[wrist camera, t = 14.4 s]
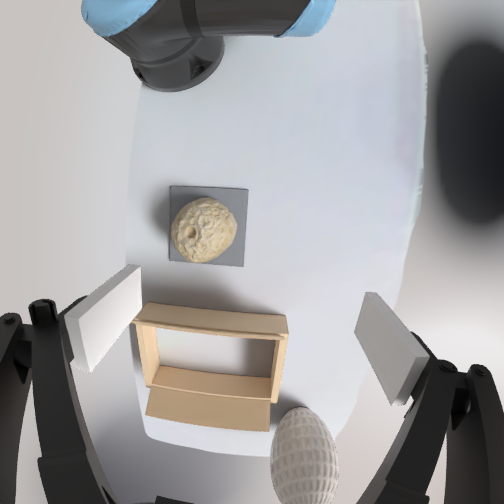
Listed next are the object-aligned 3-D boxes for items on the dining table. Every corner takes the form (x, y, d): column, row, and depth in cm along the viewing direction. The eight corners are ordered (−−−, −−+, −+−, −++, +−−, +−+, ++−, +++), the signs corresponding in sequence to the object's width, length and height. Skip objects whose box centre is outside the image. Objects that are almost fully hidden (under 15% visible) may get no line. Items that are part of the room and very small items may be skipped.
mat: (171, 186, 42) (171, 186, 42) (248, 189, 42) (248, 190, 41) (170, 260, 45) (170, 260, 45) (243, 266, 45) (243, 266, 45)
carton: (146, 289, 47) (118, 318, 36) (287, 302, 46) (294, 338, 36) (156, 377, 52) (139, 414, 41) (274, 391, 52) (275, 432, 41)
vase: (265, 430, 56) (264, 535, 28) (275, 394, 52) (279, 516, 25) (317, 432, 56) (333, 531, 28) (333, 397, 52) (362, 509, 25)
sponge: (183, 222, 47) (159, 267, 41) (187, 178, 40) (157, 223, 33) (234, 239, 48) (217, 287, 41) (247, 197, 40) (228, 247, 34)
